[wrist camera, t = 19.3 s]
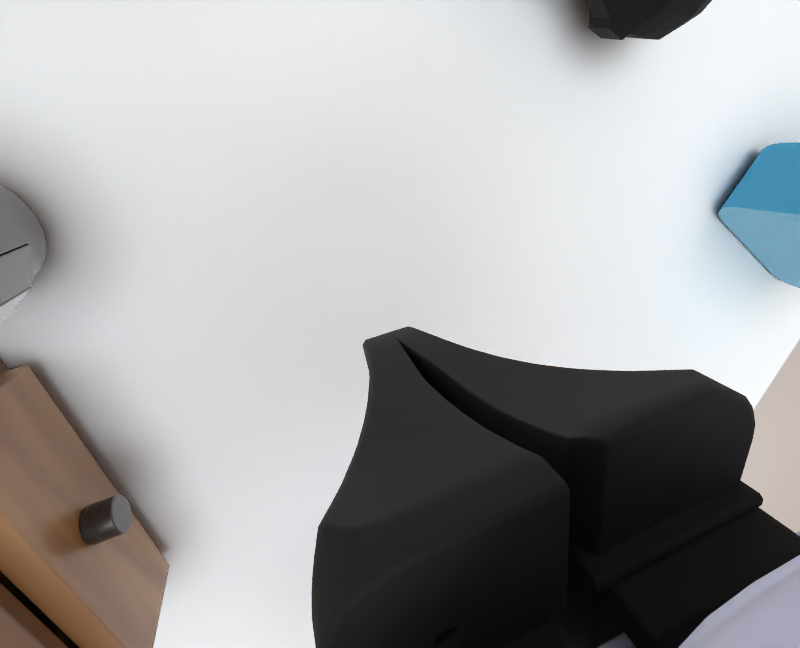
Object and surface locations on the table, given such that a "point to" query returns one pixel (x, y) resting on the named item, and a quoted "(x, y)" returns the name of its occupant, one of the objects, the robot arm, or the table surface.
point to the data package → (769, 211)
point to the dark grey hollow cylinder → (18, 250)
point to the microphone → (641, 17)
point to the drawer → (70, 530)
